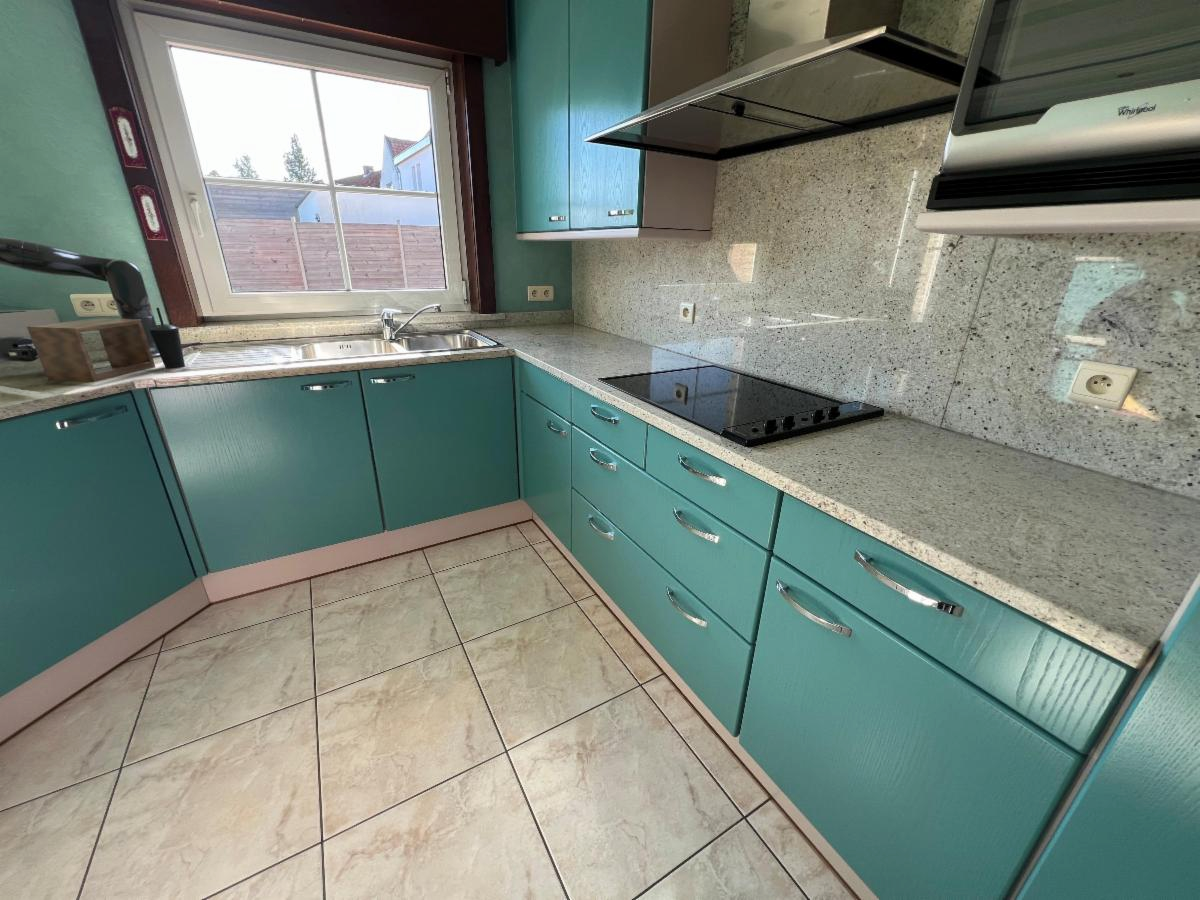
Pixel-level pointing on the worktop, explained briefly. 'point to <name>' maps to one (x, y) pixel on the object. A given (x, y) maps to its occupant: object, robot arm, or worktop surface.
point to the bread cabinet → (69, 355)
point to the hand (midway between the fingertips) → (66, 351)
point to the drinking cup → (168, 344)
